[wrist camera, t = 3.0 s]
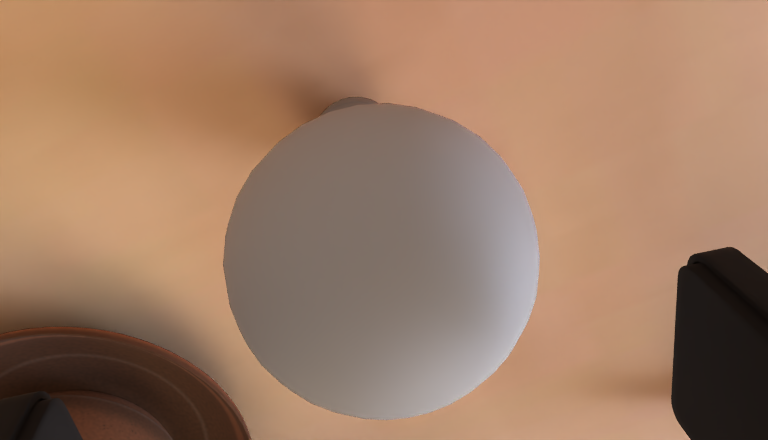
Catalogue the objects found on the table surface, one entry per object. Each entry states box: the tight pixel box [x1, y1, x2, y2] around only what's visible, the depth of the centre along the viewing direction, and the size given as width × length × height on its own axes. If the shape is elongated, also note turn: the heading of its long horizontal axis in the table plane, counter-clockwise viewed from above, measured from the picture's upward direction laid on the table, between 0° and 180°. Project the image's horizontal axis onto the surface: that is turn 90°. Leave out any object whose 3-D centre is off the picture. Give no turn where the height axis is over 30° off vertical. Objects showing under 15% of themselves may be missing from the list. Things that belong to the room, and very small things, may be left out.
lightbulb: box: [223, 97, 540, 420], centre depth 15 cm, size 6×6×11 cm
